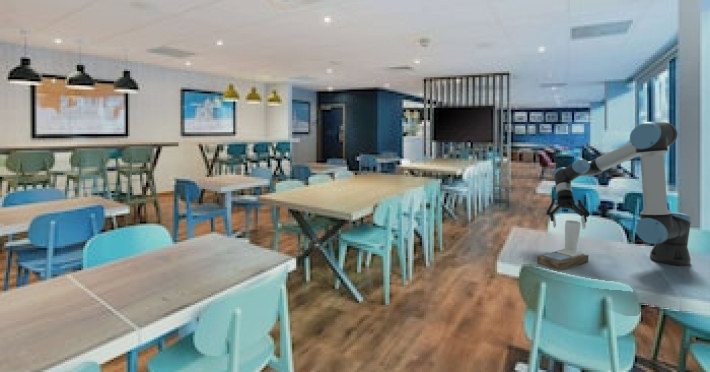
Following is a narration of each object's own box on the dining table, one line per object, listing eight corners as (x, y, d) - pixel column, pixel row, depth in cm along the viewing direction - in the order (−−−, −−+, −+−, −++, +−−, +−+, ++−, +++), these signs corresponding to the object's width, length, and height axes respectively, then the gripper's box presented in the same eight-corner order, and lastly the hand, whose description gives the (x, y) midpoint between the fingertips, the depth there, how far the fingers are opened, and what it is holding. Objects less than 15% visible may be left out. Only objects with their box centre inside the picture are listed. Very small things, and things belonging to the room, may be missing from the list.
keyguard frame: (588, 261, 190) (588, 255, 189) (561, 270, 179) (561, 263, 178) (564, 254, 199) (564, 248, 199) (537, 262, 188) (537, 256, 188)
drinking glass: (580, 253, 202) (582, 223, 200) (565, 252, 203) (567, 223, 201) (575, 249, 208) (578, 220, 206) (561, 248, 210) (563, 220, 207)
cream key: (582, 260, 190) (582, 253, 190) (572, 263, 186) (573, 256, 186) (565, 255, 197) (566, 248, 197) (556, 258, 193) (556, 251, 192)
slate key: (570, 263, 185) (570, 256, 185) (559, 267, 181) (560, 260, 180) (553, 259, 192) (554, 252, 191) (543, 262, 188) (543, 255, 187)
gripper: (588, 198, 218) (594, 232, 206) (538, 196, 224) (541, 229, 212) (592, 189, 212) (599, 224, 200) (540, 188, 219) (544, 221, 206)
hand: (569, 227), depth 206 cm, fingers open, 13 cm apart
